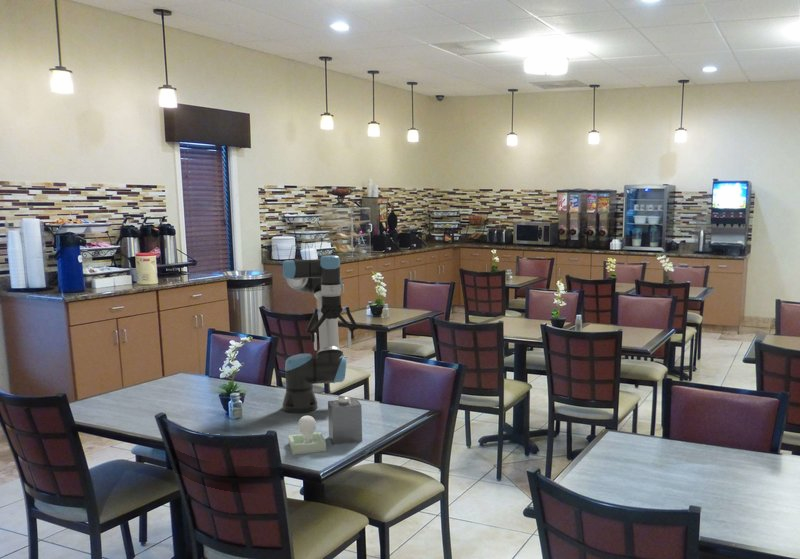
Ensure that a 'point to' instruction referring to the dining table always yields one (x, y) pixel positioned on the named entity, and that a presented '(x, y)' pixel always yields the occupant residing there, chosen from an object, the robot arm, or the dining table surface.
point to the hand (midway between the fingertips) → (332, 348)
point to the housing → (345, 420)
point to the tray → (307, 444)
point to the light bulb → (307, 428)
